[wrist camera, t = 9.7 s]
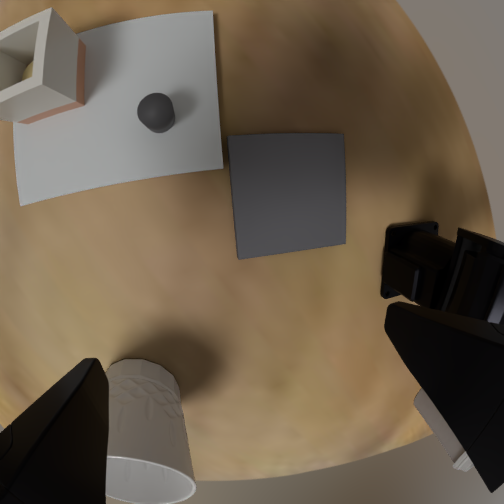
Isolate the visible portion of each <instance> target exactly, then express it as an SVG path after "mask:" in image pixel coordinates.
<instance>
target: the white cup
mask: <svg viewBox="0 0 504 504" xmlns="http://www.w3.org/2000/svg"><path fill="white" fill-rule="evenodd" d="M105 374H106V376H107V379H108V382H109V437H108V450H107V467H106V496H109V497H112V498H115V499H117V500H121V501H125V502H129V503H135V504H173V503H177V502H181V501H183V500H186V499H188V498H189V497H191V496H192V495H193V494H194V493H195V491H196V482H195V477H194V472H193V467H192V461H191V455H190V449H189V443H188V437H187V431H186V427H185V420H184V414H183V410H182V407H181V399H180V389H179V386H178V384H177V382H176V380H175V378H174V376H173V375H172V374H171V373H169V372H168V371H167V370H166V369H164V368H163V367H162V366H161V365H158V364H155V363H152V362H149V361H146V360H144V359H124V360H121V361H119V362H117V363H114V364H112V365H110V367H109V368H108V370H107V371H106V373H105Z"/></svg>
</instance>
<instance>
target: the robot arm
mask: <svg viewBox="0 0 504 504" xmlns="http://www.w3.org/2000/svg"><path fill="white" fill-rule="evenodd" d="M438 227H439V226H438V223H437V222H434V221H430V222H422V223H414V224H406V225H398V226H391V227H389V228H388V229H387V231H386V244H385V257H384V267H383V277H382V286H381V297H383V298H384V299H388V298H392V297H395V296H398V295H403V296H404V297H406V298H407V299H408V300H410V301H412V302H413V301H414V302H415V303H417V304H418V305H420V306H418V305H413V304H409V303H405V302H400V301H398V302H395V303H392V304H390V305H389V306H388V307H387V312H386V318H385V324H384V328H385V332H386V334H387V335H388V337H389V339H390V340H391V342H392V344H393V345H394V347H395V349H396V350H397V352H398V354H399V355H400V357H401V359H402V360H403V362H404V363H405V365H406V366H407V368H408V369H409V371H410V372H411V373H412V375H413V376H414V378H415V379H416V380H417V382H418V383H419V384H420V386H421V387H422V389H423V390H424V391H425V393H426V394H427V396H428V397H429V398H430V400H431V401H432V403H433V404H434V405H435V407H436V408H437V410H438V411H439V413H440V414H441V416H442V417H443V418H444V420H445V421H446V423H447V424H448V426H449V427H450V429H451V430H452V432H453V433H454V435H455V436H456V438H457V439H458V441H459V442H460V444H461V445H462V447H463V448H464V450H465V451H466V453H467V455H468V457H469V458H470V460H471V461H472V463H473V465H474V466H475V468H476V469H477V471H478V473H479V474H480V476H481V478H482V479H483V481H484V483H485V484H486V486H487V488H488V489H489V491H490V492H491V493H493V492H494V491H495V490H496V489H497V488H498V487H500V486H501V485H502V484H503V483H504V243H503V242H501V241H499V240H496V239H493V238H491V237H488V236H485V235H482V234H479V233H476V232H472V231H469V230H466V229H462V228H459V227H458V231H457V239H456V243H455V242H453V241H450V240H448V239H445V238H443V237H440V236H438ZM392 231H393V234H392V235H391V233H392ZM386 292H387V293H386ZM108 437H109V382H108V379H107V376H106V374H105V372H104V370H103V368H102V365H101V363H100V361H99V360H98V359H97V358H85V359H83V360H82V361H81V362H80V363H79V364H77V365H76V366H75V367H74V368H73V369H72V370H70V371H69V372H68V373H67V374H66V375H65V376H63V377H62V378H61V379H60V380H59V381H58V382H57V383H55V384H54V385H53V386H52V387H51V388H50V389H49V390H47V391H46V392H45V393H44V394H43V395H42V396H41V397H40V398H38V399H37V400H36V401H35V402H34V403H33V404H32V405H31V406H29V407H28V408H27V409H26V410H25V411H24V412H23V413H22V414H21V415H19V416H18V417H17V418H16V419H15V420H14V421H13V422H12V423H11V424H9V425H8V426H7V427H6V428H5V429H4V430H3V431H2V432H1V433H0V504H106V467H107V450H108Z"/></svg>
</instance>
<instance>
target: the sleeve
mask: <svg viewBox="0 0 504 504" xmlns="http://www.w3.org/2000/svg"><path fill="white" fill-rule="evenodd" d="M85 53H86V45H85V44H84V43H83V42H82V41H81V40H80V38H79V37H78V36H77V35H76V34H75V33H74V32H73V30H72V29H71V28H70V27H69V26H68V25H67V24H66V22H65V21H64V20H63V19H62V18H61V17H60V16H59V14H58V13H57V12H56V11H55V10H54V9H53V8H52V7H51V8H49V9H46V10H44V11H42V12H39V13H37V14H35V15H33V16H31V17H28V18H26V19H24V20H22V21H20V22H18V23H16V24H14V25H12V26H11V27H9V28H7V29H5V30H3V31H2V32H0V120H5V121H11V122H17V123H23V124H30V123H33V122H36V121H38V120H41V119H44V118H47V117H50V116H53V115H56V114H59V113H62V112H65V111H68V110H72V109H75V108H79V107H82V106H85V101H84V79H85ZM32 61H33V72H32V77H30V78H28V79H26V80H23V81H22V76H23V73H24V71H25V69H26V67H27V66H28V65H29V64H30V63H31V62H32Z"/></svg>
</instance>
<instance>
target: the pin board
mask: <svg viewBox="0 0 504 504" xmlns="http://www.w3.org/2000/svg"><path fill="white" fill-rule="evenodd" d="M76 35H77V36H78V37H79V38H80V40H81V41H82V42H83V43H84V44H85V45H86V53H85V79H84V101H85V106H82V107H79V108H75V109H72V110H68V111H65V112H62V113H59V114H56V115H53V116H50V117H47V118H44V119H41V120H38V121H36V122H33V123H30V124H23V123H17V122H13V133H14V155H15V168H16V178H17V186H18V193H19V200H20V206H23V205H27V204H30V203H34V202H38V201H42V200H46V199H49V198H53V197H57V196H62V195H66V194H70V193H74V192H79V191H83V190H88V189H93V188H98V187H103V186H108V185H113V184H118V183H124V182H129V181H135V180H141V179H147V178H153V177H160V176H167V175H174V174H181V173H189V172H197V171H205V170H215V169H223V157H222V145H221V132H220V119H219V106H218V92H217V77H216V61H215V44H214V26H213V11H196V12H183V13H173V14H164V15H157V16H150V17H144V18H138V19H133V20H128V21H123V22H118V23H114V24H110V25H106V26H102V27H98V28H94V29H91V30H87V31H84V32H81V33H78V34H76ZM32 72H33V61H32V62H31V63H30V64H29V65H28V66H27V67H26V69H25V71H24V73H23V76H22V81H23V80H26V79H28V78H30V77H32Z"/></svg>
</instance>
